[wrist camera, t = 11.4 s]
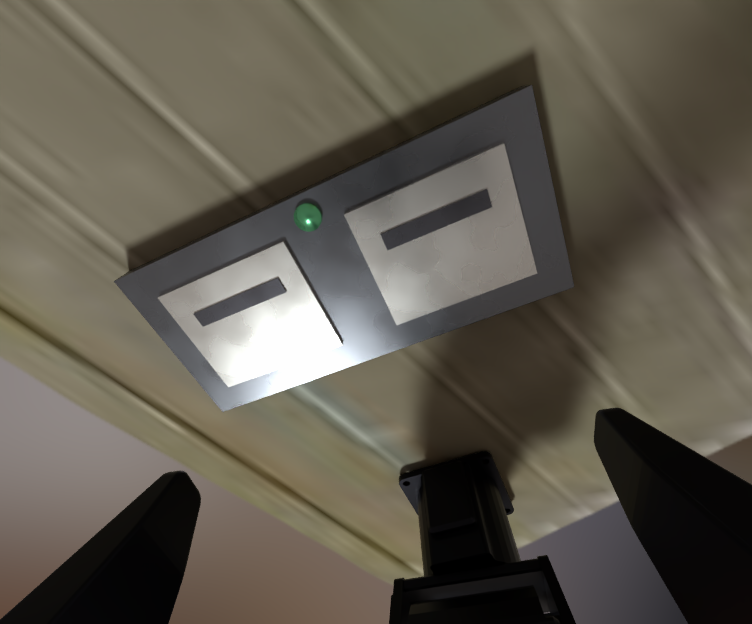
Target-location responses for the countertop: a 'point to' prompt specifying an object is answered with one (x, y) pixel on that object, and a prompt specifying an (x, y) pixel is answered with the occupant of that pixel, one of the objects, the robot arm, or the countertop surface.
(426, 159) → the panel
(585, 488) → the countertop surface
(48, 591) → the robot arm
